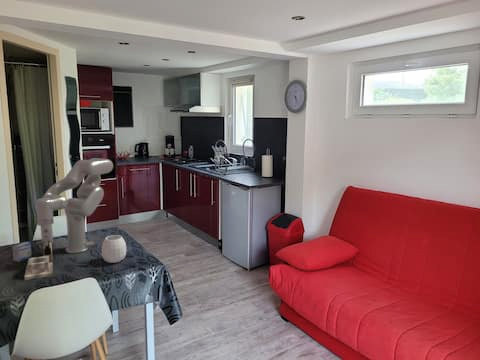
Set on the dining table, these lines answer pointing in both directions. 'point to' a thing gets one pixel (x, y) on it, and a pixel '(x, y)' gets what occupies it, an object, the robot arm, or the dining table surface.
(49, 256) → the peg
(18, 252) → the medicine box
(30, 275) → the socket stand
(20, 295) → the dining table surface
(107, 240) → the white faceted vase
